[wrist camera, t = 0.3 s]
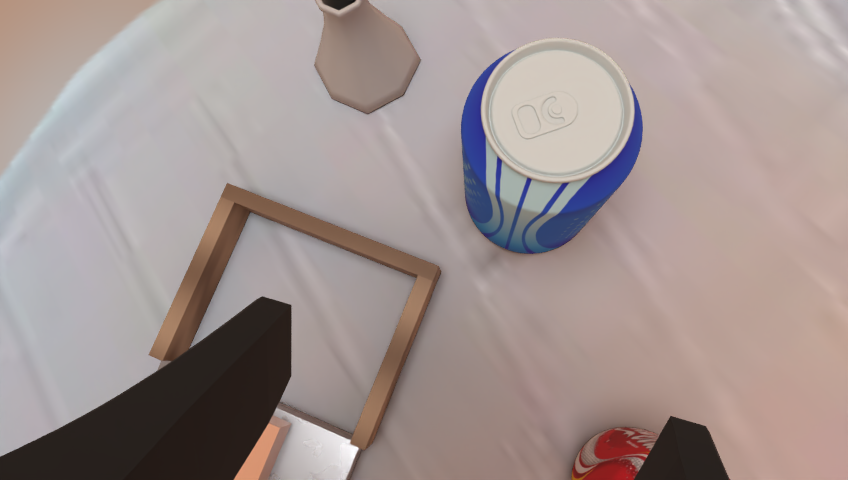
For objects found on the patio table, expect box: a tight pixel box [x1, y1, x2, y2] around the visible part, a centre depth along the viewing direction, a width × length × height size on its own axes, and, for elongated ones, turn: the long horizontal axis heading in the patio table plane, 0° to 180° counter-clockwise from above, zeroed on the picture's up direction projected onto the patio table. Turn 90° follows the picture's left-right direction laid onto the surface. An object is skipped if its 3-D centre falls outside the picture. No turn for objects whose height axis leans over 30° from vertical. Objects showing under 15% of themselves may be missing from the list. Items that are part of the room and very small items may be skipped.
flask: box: [314, 0, 421, 114], centre depth 41 cm, size 7×7×10 cm
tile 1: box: [234, 415, 291, 480], centre depth 39 cm, size 5×5×2 cm
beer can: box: [461, 38, 643, 254], centre depth 35 cm, size 8×8×16 cm
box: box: [149, 183, 441, 450], centre depth 42 cm, size 12×15×3 cm
